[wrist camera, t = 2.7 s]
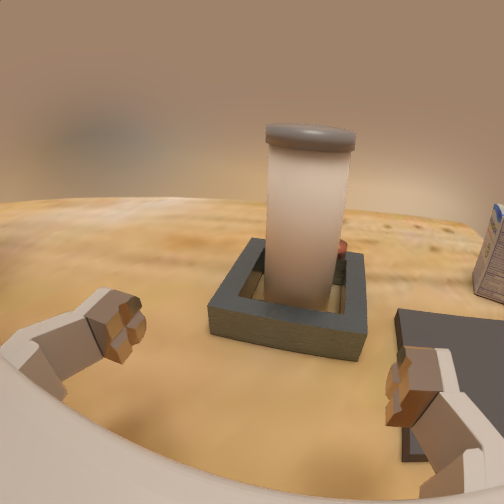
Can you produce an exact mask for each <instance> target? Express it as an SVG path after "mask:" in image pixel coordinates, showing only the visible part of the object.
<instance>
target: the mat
mask: <svg viewBox="0 0 504 504" xmlns="http://www.w3.org/2000/svg"><path fill="white" fill-rule="evenodd" d="M395 326H396V334H397V343H398V351H399V349H400V348H401V347H402V346H413V347H425V348H442V349H449V350H450V352H451V356H452V360H453V364H454V368H455V372H456V376H457V380H458V385H459V390H460V392H464V393H465V394H466V395H467V396H468V397H469V398H470V400H471V401H472V402H473V403H474V404H475V405H476V406H477V408H478V409H479V410H480V411H481V412H482V413H483V414H484V416H485V417H486V418H487V419H488V420H489V421H490V423H491V424H492V425H493V426H494V427H495V429H496V430H497V431H498V432H499V433H500V435H501V436H502V437H503V438H504V321H502V320H492V319H482V318H473V317H464V316H455V315H447V314H438V313H430V312H422V311H415V310H407V309H400V308H398V310H397V313H396V316H395ZM415 461H429V460H428V459H427V457H426V455H425V453H424V451H423V449H422V448H421V446H420V444H419V442H418V440H417V439H416V437H415V435H414V433H413V432H412V430H411V428H407V427H403V440H402V462H415Z"/></svg>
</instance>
